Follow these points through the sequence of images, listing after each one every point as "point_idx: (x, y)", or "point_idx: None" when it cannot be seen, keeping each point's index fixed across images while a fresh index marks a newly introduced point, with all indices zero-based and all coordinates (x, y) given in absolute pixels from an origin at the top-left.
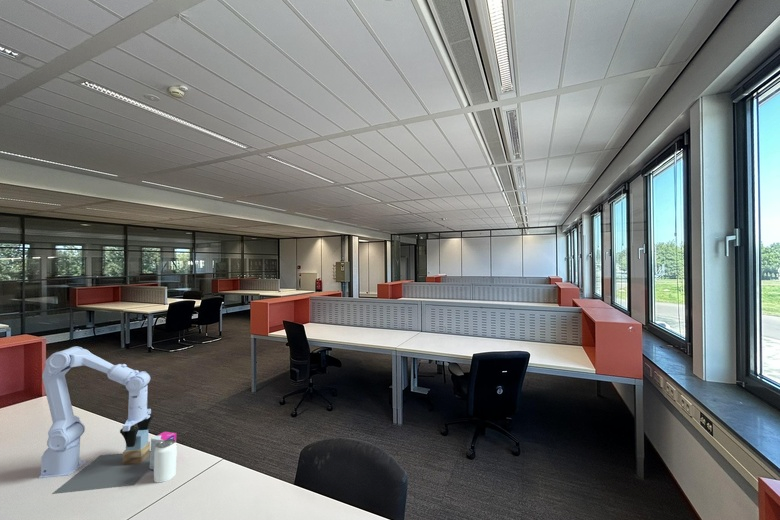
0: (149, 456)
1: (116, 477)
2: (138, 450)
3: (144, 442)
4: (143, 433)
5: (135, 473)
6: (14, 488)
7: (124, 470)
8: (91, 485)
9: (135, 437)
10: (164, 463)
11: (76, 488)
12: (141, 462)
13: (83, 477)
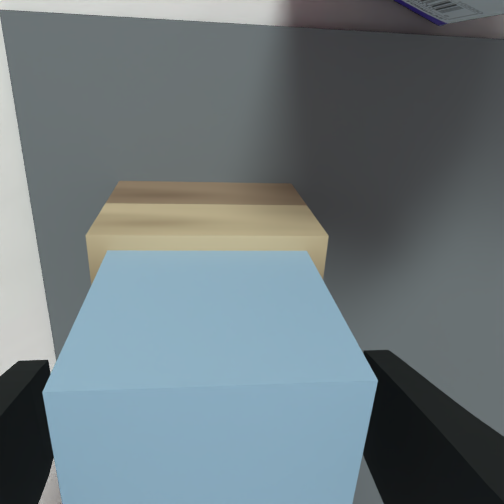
0: (159, 162)
1: (461, 272)
2: (323, 265)
3: (209, 275)
4: (248, 395)
5: (462, 142)
6: None
7: (370, 267)
8: (498, 376)
9: (473, 441)
10: None
11: None
12: (276, 184)
13: (369, 472)
